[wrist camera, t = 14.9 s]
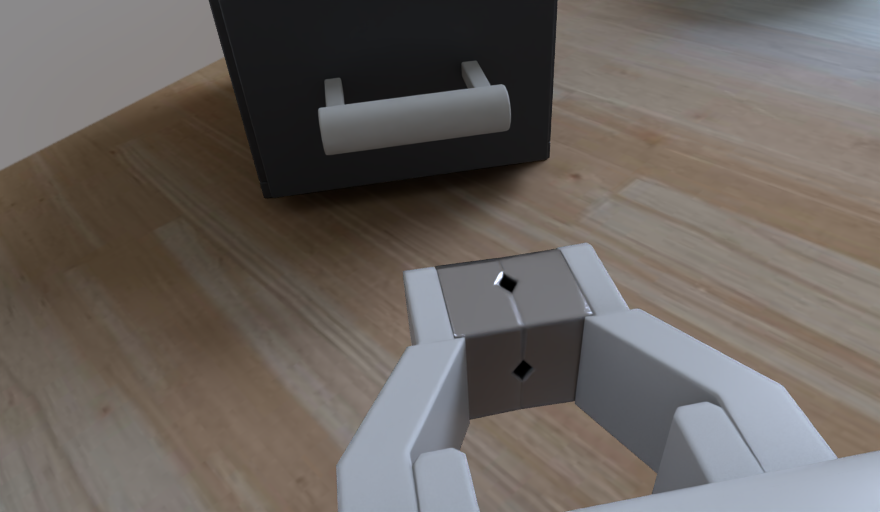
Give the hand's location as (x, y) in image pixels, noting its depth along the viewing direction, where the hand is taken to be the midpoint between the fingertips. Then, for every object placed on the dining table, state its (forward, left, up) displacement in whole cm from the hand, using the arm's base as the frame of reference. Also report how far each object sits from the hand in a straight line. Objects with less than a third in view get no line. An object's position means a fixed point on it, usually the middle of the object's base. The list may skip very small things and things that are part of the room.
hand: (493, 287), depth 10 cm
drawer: (0, +19, -7) cm, 21 cm away
